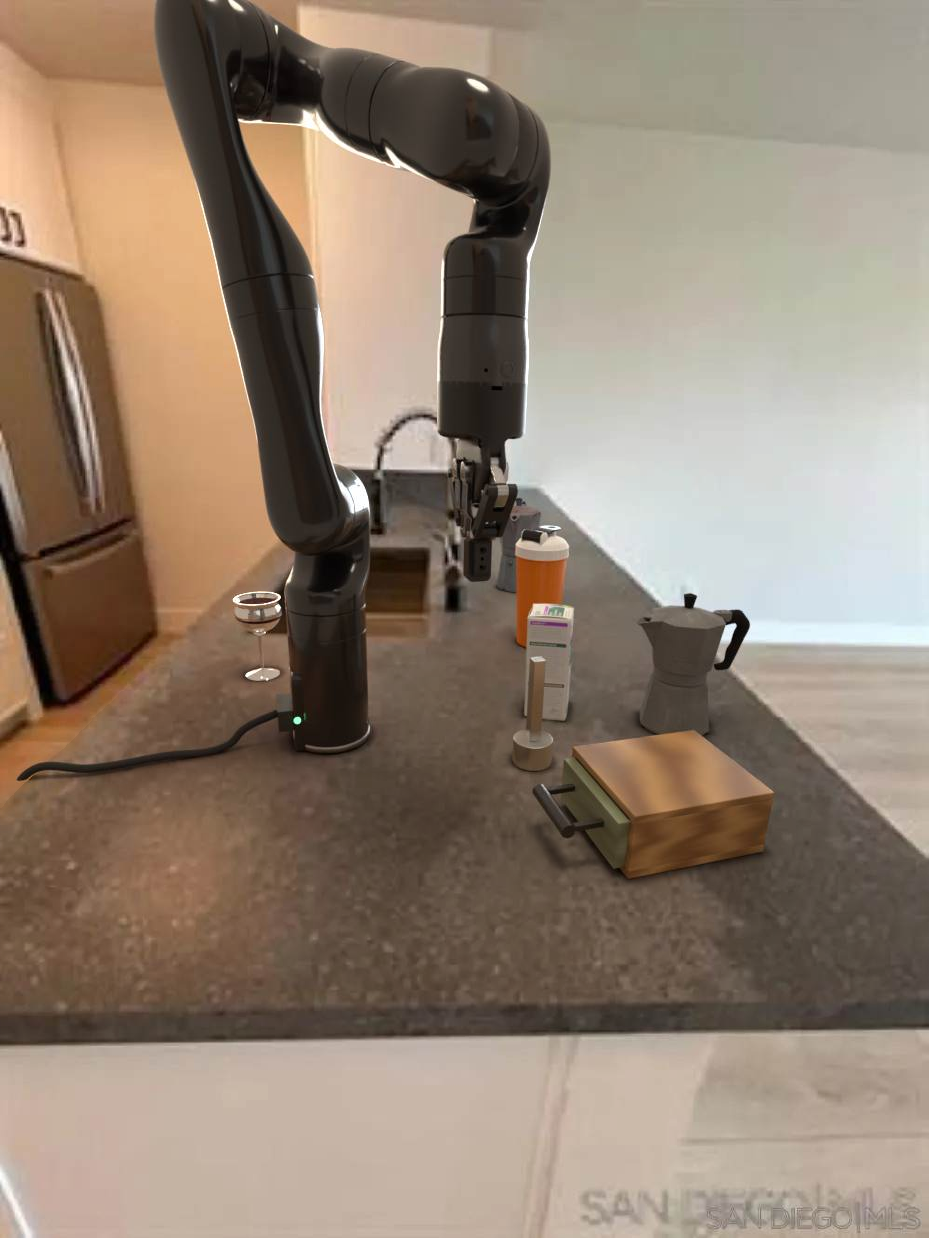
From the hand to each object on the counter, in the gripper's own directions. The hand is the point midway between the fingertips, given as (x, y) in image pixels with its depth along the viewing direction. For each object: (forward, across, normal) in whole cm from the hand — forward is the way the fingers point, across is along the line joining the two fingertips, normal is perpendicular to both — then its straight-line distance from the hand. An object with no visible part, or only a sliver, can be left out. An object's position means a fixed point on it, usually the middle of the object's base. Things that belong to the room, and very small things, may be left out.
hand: (476, 579), depth 62 cm
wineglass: (+25, -42, -20) cm, 53 cm away
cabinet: (+25, +7, +18) cm, 32 cm away
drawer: (+24, +7, +14) cm, 29 cm away
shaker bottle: (+25, -45, +26) cm, 58 cm away
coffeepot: (+25, -12, +33) cm, 43 cm away
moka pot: (+25, -79, +35) cm, 90 cm away
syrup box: (+25, -20, +17) cm, 36 cm away
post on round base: (+25, -8, +10) cm, 28 cm away
